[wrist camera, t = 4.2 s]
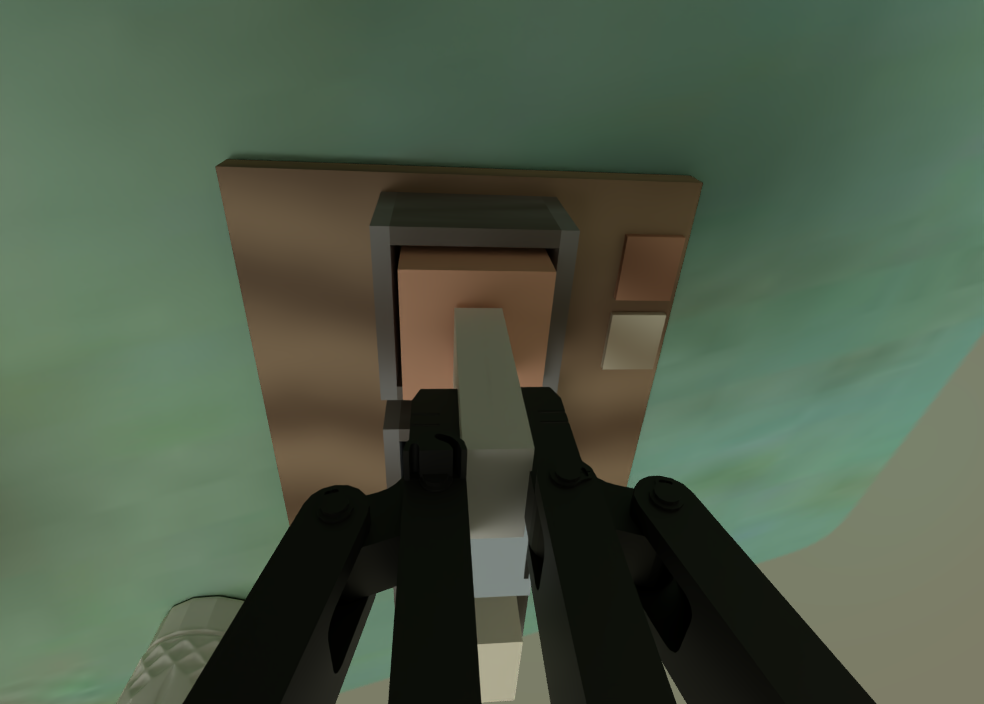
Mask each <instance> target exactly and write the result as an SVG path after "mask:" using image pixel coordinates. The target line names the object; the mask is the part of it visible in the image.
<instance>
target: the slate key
mask: <svg viewBox="0 0 984 704" xmlns="http://www.w3.org/2000/svg"><path fill="white" fill-rule="evenodd" d="M470 541H471V555H472V570H473V585H474V598H481V597H503V596H524V595H530V588H531V581H530V575H529V579H524V569H525V561H526V553H527V546H528V535H527V530H526V524H525V531H524V537H514V538H486V539H470Z"/></svg>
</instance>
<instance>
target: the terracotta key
mask: <svg viewBox="0 0 984 704" xmlns="http://www.w3.org/2000/svg"><path fill="white" fill-rule="evenodd" d="M555 280H556V270H555V268H554V266H553V264H552V262H551V260H550V258H549V256H548V254H547V251H546V249H545V248H512V247H462V246H413V245H402V246H401V252H400V258H399V264H398V290H399V315H400V339H401V364H402V389H403V400H412V399H413V398H414V397H415V395H416V394H417V393H418V391H419V390H420V389H453V354H454V308H502V309H503V314H504V318H505V322H506V327H507V331H508V335H509V340H510V344H511V348H512V353H513V357H514V361H515V366H516V370H517V374H518V379H519V383H520V387H542V385H543V377H544V369H545V361H546V353H547V345H548V336H549V328H550V320H551V312H552V304H553V296H554V288H555Z"/></svg>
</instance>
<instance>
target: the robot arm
mask: <svg viewBox="0 0 984 704" xmlns="http://www.w3.org/2000/svg"><path fill="white" fill-rule="evenodd" d="M403 470H404V475H403V477H402V478H401V479H400V480H399V481H398V482H397V483H396V484H394V485H393V486H391V487H389V488H388V489H385V490H382V491H380V492H376V493H373V494H369V495H365V494H364V493H363V492H362V491H361V490H360V489H358V488H355V487H352V486H349V485H333V486H330V487H326V488H322V489H321V490H319V491H317V492H316V493H314V494H312V495H311V496H310V497H309V498H308V499H307V500H306V501H305V503H304V504H303V505H302V507H301V509H300V510H299V512H298V514H297V515H296V517H295V518H294V520H293V522H292V523H291V525H290V527H289V528H288V530H287V532H286V533H285V535H284V537H283V538H282V540H281V542H280V543H279V545H278V547H277V548H276V550H275V552H274V553H273V555H272V556H271V558H270V560H269V561H268V563H267V565H266V566H265V568H264V570H263V571H262V573H261V575H260V576H259V578H258V580H257V581H256V583H255V585H254V586H253V588H252V590H251V591H250V593H249V594H248V596H247V598H246V599H245V601H244V603H243V604H242V606H241V608H240V609H239V611H238V613H237V614H236V616H235V618H234V619H233V621H232V623H231V624H230V626H229V628H228V629H227V631H226V632H225V634H224V636H223V637H222V639H221V641H220V642H219V644H218V646H217V647H216V649H215V651H214V652H213V654H212V656H211V657H210V659H209V661H208V662H207V664H206V665H205V667H204V669H203V670H202V672H201V674H200V675H199V677H198V679H197V680H196V682H195V684H194V685H193V687H192V689H191V690H190V692H189V694H188V695H187V697H186V699H185V700H184V702H183V703H182V704H335V703H336V700H337V698H338V695H339V692H340V690H341V687H342V684H343V682H344V679H345V676H346V674H347V671H348V668H349V666H350V663H351V660H352V658H353V655H354V652H355V650H356V647H357V644H358V642H359V639H360V636H361V634H362V631H363V629H364V626H365V623H366V621H367V618H368V615H369V613H370V610H371V607H372V605H373V602H374V599H375V596H376V593H378V592H381V591H384V590H387V589H390V588H392V587H395V586H397V587H396V601H395V615H394V629H393V643H392V658H391V672H390V686H389V700H388V704H482V703H481V688H480V674H479V659H478V644H477V629H476V614H475V600H474V585H473V570H472V555H471V541H470V539H486V538H514V537H524V531H525V524H526V530H527V535H528V546H527V553H526V561H525V569H524V579H529V575H530V581H531V587H532V593H533V599H534V605H535V611H536V617H537V624H538V630H539V636H540V641H541V648H542V654H543V660H544V665H545V672H546V678H547V684H548V690H549V695H550V702H551V704H676V701H675V698H674V695H673V692H672V689H671V687H670V684H669V681H668V678H667V675H666V672H665V670H664V667H663V664H664V666H665V667H666V669H667V671H668V673H669V674H670V676H671V678H672V679H673V681H674V682H675V684H676V686H677V688H678V690H679V691H680V693H681V695H682V696H683V698H684V700H685V701H686V703H687V704H876V703H875V702H874V700H873V699H872V698H871V697H870V696H869V695H868V694H867V692H866V691H865V690H864V689H863V688H862V687H861V685H860V684H859V683H858V682H857V681H856V680H855V679H854V678H853V676H852V675H851V674H850V673H849V672H848V670H847V669H845V667H844V666H843V665H842V664H841V662H840V661H839V660H838V659H837V658H836V657H835V656H834V655H833V653H832V652H831V651H830V650H829V649H828V648H827V646H826V645H825V644H824V643H823V642H822V641H821V639H820V638H819V637H818V636H817V635H816V634H815V633H814V632H813V630H812V629H811V628H810V627H809V626H808V625H807V623H806V622H805V621H804V620H803V619H802V618H801V616H800V615H799V614H798V613H797V612H796V611H795V610H794V608H793V607H792V606H791V605H790V604H789V603H788V601H787V600H785V598H784V597H783V596H782V595H781V594H780V592H779V591H778V590H777V589H776V588H775V587H774V586H773V584H772V583H771V582H770V581H769V580H768V579H767V577H766V576H765V575H764V574H763V573H762V572H761V570H760V569H759V568H758V567H757V566H756V565H755V564H754V562H753V561H752V560H751V559H750V558H749V557H748V556H747V554H746V553H745V552H744V551H743V550H742V549H741V547H740V546H739V545H738V544H737V543H736V542H735V541H734V539H733V538H732V537H731V536H730V535H729V534H728V533H727V531H726V530H725V529H724V528H723V527H722V526H721V524H720V523H719V522H718V521H717V520H716V519H715V518H714V516H713V515H712V514H711V513H710V512H709V511H708V510H707V508H706V507H705V506H704V505H703V504H702V503H701V501H700V500H699V499H698V498H697V497H696V496H695V495H694V493H693V492H692V491H691V490H689V489H688V488H687V487H686V486H685V485H684V484H682V483H680V482H678V481H676V480H674V479H672V478H668V477H663V476H648V477H646V478H643V479H641V480H639V482H638V483H637V484H636V486H635V488H634V489H633V488H629V487H624V486H620V485H615V484H612V483H609V482H605V481H603V480H601V479H599V478H597V476H596V474H595V473H594V471H593V469H592V468H591V467H590V466H589V465H587V464H586V463H585V462H583V461H582V459H581V456H580V453H579V451H578V448H577V445H576V442H575V439H574V436H573V433H572V430H571V427H570V424H569V421H568V418H567V415H566V413H565V409H564V406H563V403H562V400H561V397H560V396H559V395H558V394H557V393H555V392H554V391H553V390H552V389H551V388H550V387H520V383H519V379H518V374H517V370H516V366H515V361H514V357H513V353H512V348H511V344H510V340H509V335H508V331H507V327H506V322H505V318H504V314H503V309H502V308H454V354H453V389H420V390H419V391H418V393H417V394H416V395H415V397H414V398H413V399H412V403H411V418H410V432H409V440H408V441H407V442H406V443H405V446H404V449H403ZM662 663H663V664H662Z"/></svg>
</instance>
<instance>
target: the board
mask: <svg viewBox="0 0 984 704" xmlns="http://www.w3.org/2000/svg"><path fill="white" fill-rule="evenodd" d="M215 167H216V172H217V177H218V182H219V186H220V191H221V196H222V201H223V206H224V211H225V215H226V220H227V225H228V230H229V235H230V240H231V244H232V249H233V254H234V259H235V264H236V269H237V273H238V278H239V283H240V288H241V293H242V298H243V302H244V307H245V312H246V317H247V322H248V327H249V331H250V336H251V341H252V346H253V351H254V356H255V360H256V365H257V370H258V375H259V380H260V385H261V390H262V394H263V399H264V404H265V409H266V414H267V419H268V423H269V428H270V433H271V438H272V443H273V448H274V452H275V457H276V462H277V467H278V472H279V477H280V481H281V486H282V491H283V496H284V501H285V506H286V510H287V515H288V520H289V525H291V523H292V522H293V520H294V518H295V517H296V515H297V514H298V512H299V510H300V509H301V507H302V505H303V504H304V503H305V501H306V500H307V499H308V498H309V497H310V496H311V495H312V494H314V493H316V492H317V491H319V490H321V489H322V488H326V487H330V486H333V485H349V486H352V487H355V488H358V489H360V490H361V491H362V492H363V493H364V494H365V495H369V494H373V493H376V492H380V491H382V490H385V489H388V488H389V487H391V486H393V485H394V484H396V483H397V482H398V481H399V480H400V479H401V478H402V477H403V475H404V470H403V449H404V446H405V443H406V442H407V441H408V440H409V432H410V418H411V403H412V400H403V389H402V364H401V339H400V315H399V290H398V264H399V258H400V252H401V246H402V245H413V246H462V247H512V248H545V249H546V251H547V254H548V256H549V258H550V260H551V262H552V264H553V266H554V268H555V270H556V280H555V288H554V296H553V304H552V312H551V320H550V328H549V336H548V345H547V353H546V361H545V369H544V377H543V385H542V387H550V388H551V389H552V390H553V391H554V392H555V393H557V394H558V395H559V396H560V397H561V400H562V403H563V406H564V409H565V413H566V415H567V418H568V421H569V424H570V427H571V430H572V433H573V436H574V439H575V442H576V445H577V448H578V451H579V453H580V456H581V459H582V461H583V462H585V463H586V464H587V465H589V466H590V467H591V468H592V469H593V471H594V473H595V474H596V476H597V478H599V479H601V480H603V481H605V482H609V483H612V484H615V485H620V486H624V487H627V483H628V479H629V475H630V471H631V467H632V463H633V459H634V455H635V451H636V447H637V443H638V439H639V435H640V431H641V427H642V423H643V419H644V415H645V411H646V407H647V403H648V399H649V395H650V391H651V387H652V383H653V380H654V376H655V372H656V368H657V364H658V360H659V356H660V352H661V348H662V344H663V340H664V336H665V332H666V328H667V324H668V320H669V316H670V312H671V308H672V304H673V300H674V296H675V292H676V288H677V284H678V280H679V276H680V272H681V269H682V265H683V261H684V257H685V253H686V249H687V245H688V241H689V237H690V233H691V229H692V225H693V221H694V217H695V213H696V209H697V205H698V201H699V197H700V193H701V189H702V185H703V183H702V182H701V181H699V180H697V179H695V178H694V177H692V176H688V175H659V174H631V173H603V172H574V171H546V170H518V169H489V168H461V167H433V166H404V165H376V164H348V163H319V162H291V161H263V160H234V159H226V160H225V161H223V162H222V163H220V164H218V165H217V166H215ZM396 587H397V586H395V587H392V588H394V603H395V601H396ZM516 597H517V604H518V611H519V618H520V625H521V632H522V636H523V629H524V622H525V615H526V608H527V601H528V595H524V596H516Z"/></svg>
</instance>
